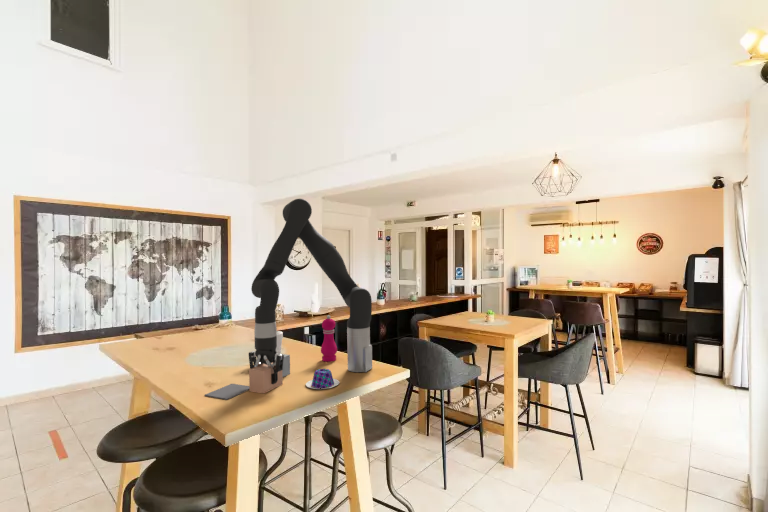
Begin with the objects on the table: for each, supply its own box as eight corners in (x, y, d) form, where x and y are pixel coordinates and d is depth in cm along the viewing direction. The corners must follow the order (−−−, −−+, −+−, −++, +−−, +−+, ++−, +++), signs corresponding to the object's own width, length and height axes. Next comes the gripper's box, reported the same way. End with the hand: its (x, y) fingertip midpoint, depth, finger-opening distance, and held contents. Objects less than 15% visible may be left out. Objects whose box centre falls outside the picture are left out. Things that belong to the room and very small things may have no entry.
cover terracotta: (282, 384, 137) (282, 363, 137) (263, 393, 128) (263, 371, 128) (268, 382, 140) (268, 361, 140) (249, 391, 130) (249, 369, 130)
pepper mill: (340, 359, 170) (340, 314, 170) (330, 363, 164) (329, 316, 164) (328, 357, 174) (327, 313, 174) (317, 360, 168) (316, 315, 168)
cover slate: (290, 373, 149) (289, 354, 149) (273, 381, 140) (273, 361, 140) (277, 372, 152) (277, 353, 152) (260, 379, 142) (259, 359, 142)
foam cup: (276, 366, 160) (276, 335, 160) (256, 365, 161) (256, 335, 161) (286, 360, 169) (286, 331, 169) (267, 359, 171) (267, 330, 171)
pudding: (346, 384, 136) (346, 370, 136) (319, 393, 128) (318, 378, 128) (326, 377, 145) (325, 364, 145) (299, 385, 136) (299, 371, 136)
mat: (253, 387, 133) (253, 386, 133) (227, 399, 122) (227, 398, 122) (231, 384, 137) (231, 383, 137) (204, 395, 126) (204, 394, 126)
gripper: (289, 334, 134) (289, 381, 134) (257, 331, 140) (257, 376, 140) (275, 338, 128) (275, 388, 127) (242, 335, 133) (242, 383, 133)
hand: (266, 382), depth 134 cm, fingers closed on cover terracotta, 6 cm apart
